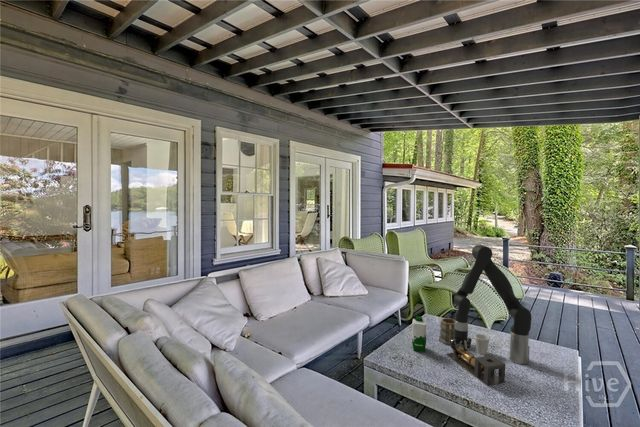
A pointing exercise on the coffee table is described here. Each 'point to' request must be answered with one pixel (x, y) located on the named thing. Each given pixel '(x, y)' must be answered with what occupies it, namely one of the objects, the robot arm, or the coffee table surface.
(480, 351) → the dixie cup
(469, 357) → the tube
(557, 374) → the coffee table surface
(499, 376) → the dark grey holder
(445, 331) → the tankard
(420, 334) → the milk carton
